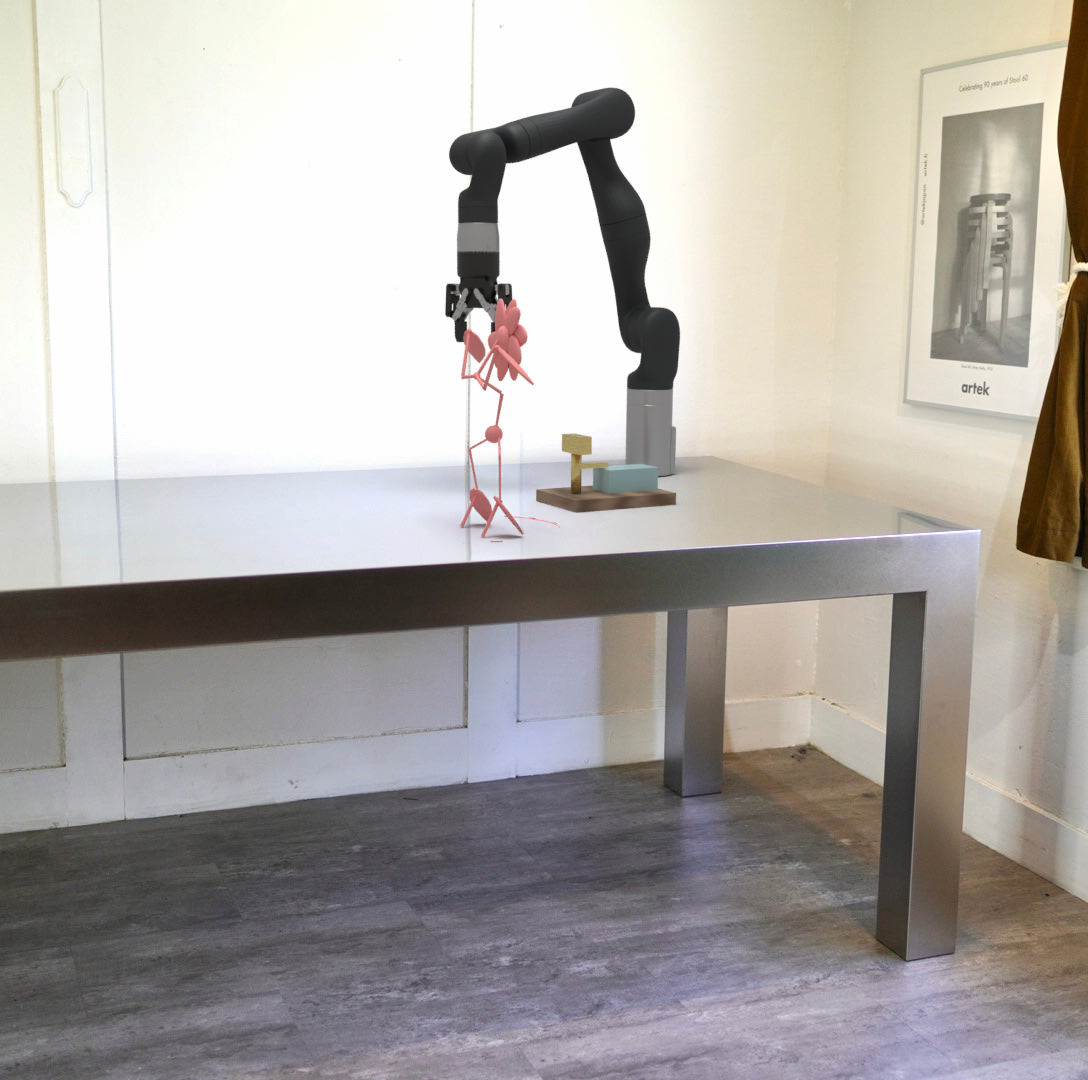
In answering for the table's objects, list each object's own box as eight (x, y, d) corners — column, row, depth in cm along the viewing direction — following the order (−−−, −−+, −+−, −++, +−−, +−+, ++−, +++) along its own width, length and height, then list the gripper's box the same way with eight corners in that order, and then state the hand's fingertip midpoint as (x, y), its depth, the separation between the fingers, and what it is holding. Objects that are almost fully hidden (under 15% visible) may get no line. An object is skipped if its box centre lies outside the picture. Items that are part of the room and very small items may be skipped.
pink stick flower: (497, 547, 191) (497, 299, 184) (438, 519, 214) (436, 297, 208) (594, 540, 197) (598, 299, 190) (526, 514, 220) (527, 298, 214)
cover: (640, 486, 239) (641, 463, 238) (657, 489, 234) (658, 467, 234) (592, 489, 234) (593, 466, 234) (608, 493, 230) (609, 470, 229)
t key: (596, 487, 235) (597, 432, 233) (614, 492, 230) (615, 435, 228) (561, 490, 232) (561, 434, 230) (578, 494, 226) (579, 437, 225)
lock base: (632, 493, 244) (632, 482, 243) (675, 504, 232) (676, 492, 231) (536, 500, 234) (536, 489, 234) (576, 512, 222) (576, 500, 222)
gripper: (522, 249, 234) (522, 343, 237) (463, 251, 243) (464, 341, 246) (493, 248, 228) (494, 344, 231) (434, 250, 237) (435, 342, 240)
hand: (478, 342), depth 239 cm, fingers open, 8 cm apart
